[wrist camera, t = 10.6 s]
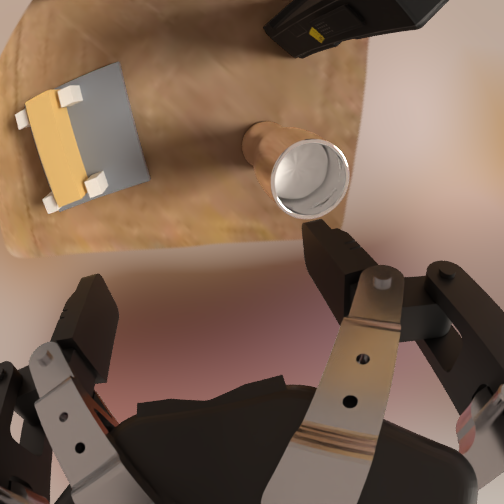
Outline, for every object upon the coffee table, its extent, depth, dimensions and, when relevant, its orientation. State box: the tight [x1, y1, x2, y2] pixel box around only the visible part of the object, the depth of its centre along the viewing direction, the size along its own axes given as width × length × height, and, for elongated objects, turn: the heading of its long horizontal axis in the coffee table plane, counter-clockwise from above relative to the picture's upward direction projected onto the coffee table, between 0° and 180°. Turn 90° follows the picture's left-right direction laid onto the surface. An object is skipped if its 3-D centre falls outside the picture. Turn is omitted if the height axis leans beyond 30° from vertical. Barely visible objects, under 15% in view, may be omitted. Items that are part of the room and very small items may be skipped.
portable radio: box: [263, 0, 449, 58], centre depth 17 cm, size 8×6×25 cm
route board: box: [15, 62, 151, 214], centre depth 28 cm, size 15×13×4 cm
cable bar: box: [25, 89, 88, 207], centre depth 27 cm, size 13×3×4 cm, turn 10°
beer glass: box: [242, 121, 349, 219], centre depth 29 cm, size 7×7×15 cm
